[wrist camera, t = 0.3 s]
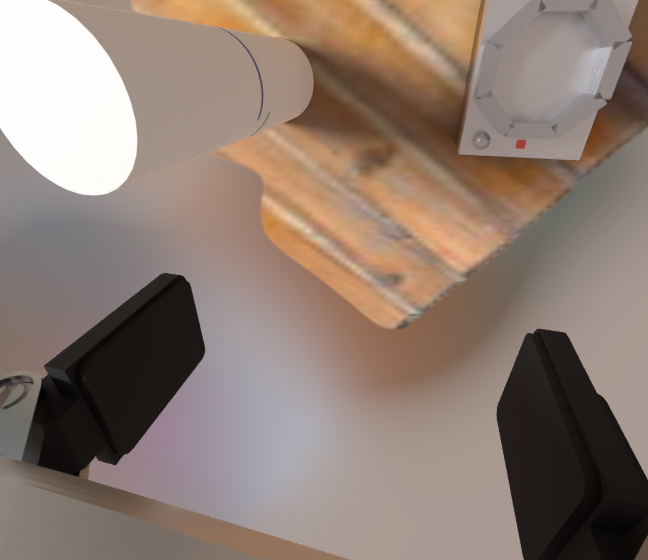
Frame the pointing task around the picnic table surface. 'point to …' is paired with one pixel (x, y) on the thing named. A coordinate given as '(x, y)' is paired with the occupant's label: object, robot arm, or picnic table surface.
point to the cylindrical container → (135, 90)
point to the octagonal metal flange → (541, 75)
